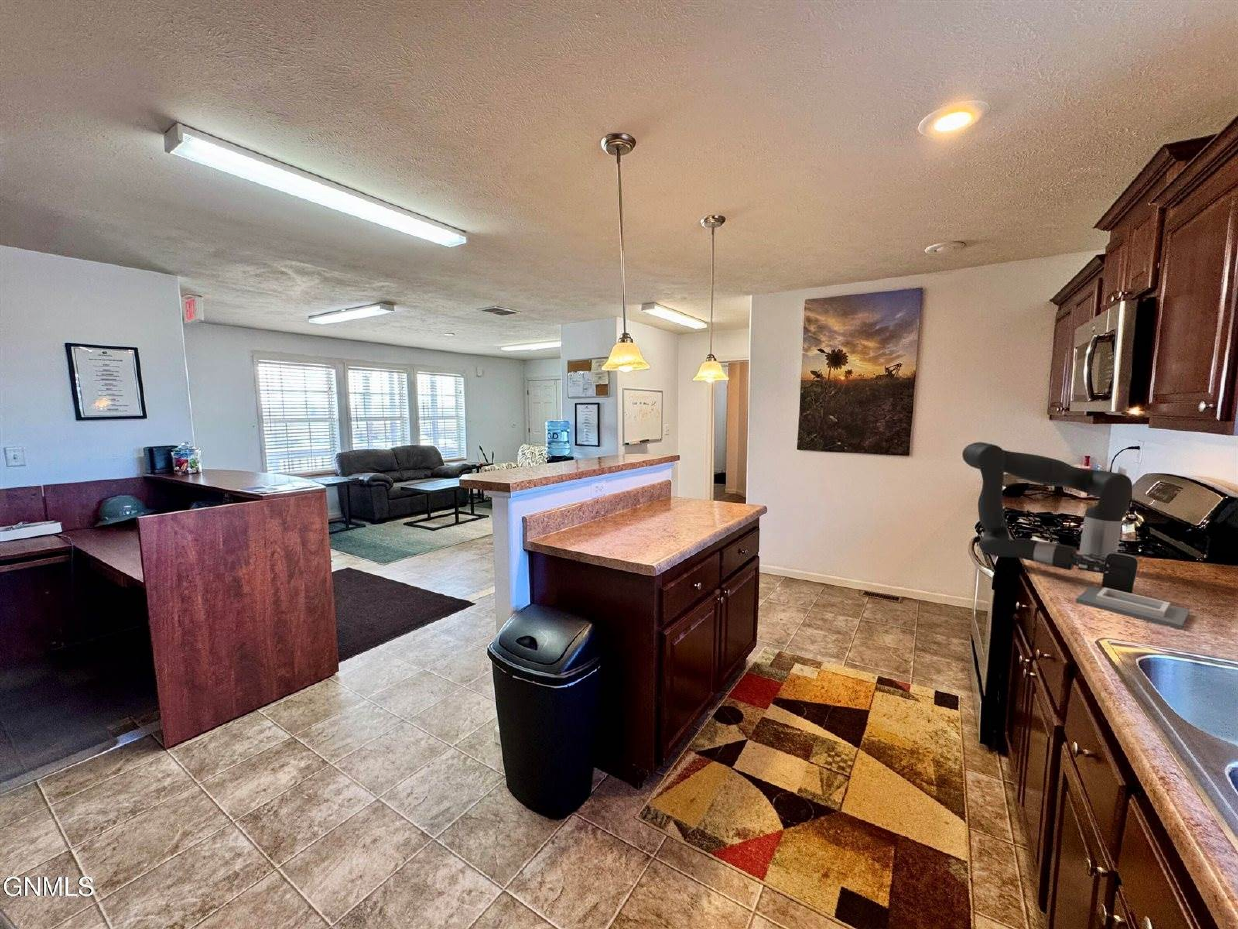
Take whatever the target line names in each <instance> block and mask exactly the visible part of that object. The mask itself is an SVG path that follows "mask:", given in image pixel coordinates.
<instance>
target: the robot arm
mask: <svg viewBox="0 0 1238 929" xmlns="http://www.w3.org/2000/svg"><path fill="white" fill-rule="evenodd" d="M962 459H963V461H964V462H965V463H966V465H967V466H968V465H969V467H971V468H974V469H977V470H979V471H980V474H981V478H982V486H981V487H982V488H981V491H980V494H979V497H978V499H977V500H978V502H977V510H978V511H977V512H978V519H979V523H980V525H981V526H982V527H984V529H985V534H984V535H983V536H982V537H981V538H980V539H979V541H978V546H979V548H980V550H981V551H982V552H984V553H985V554H988V555H990V556H992V557H993V556H994V557H1000V558H1001V557H1003V558H1018V559H1022V560H1027V561H1031V562H1035V563H1038V564H1041V565H1046V566H1049V567H1054V568H1059V569H1062V570H1068V571H1072V570H1073V569H1074V567H1077V569H1078V570H1080V571H1087V572H1092V573H1097V574H1098V573H1099V574H1103V573H1109V572H1110V573H1114V574H1119V575H1123V576H1126V575H1127V574H1128V569H1127V568H1123V567H1118V566H1113V565H1111V566H1110V565H1109V564H1105V563H1104V562H1105V557H1106V555H1107V554H1108V553H1110V552H1118V549H1119V544H1120V537H1121V530H1122V524H1123V519H1124V516H1125V514H1126V513H1127V511H1128V510H1129V505H1130V500H1131V497H1132V492H1133V482H1132V480H1131V478H1130V477H1129V476H1127V475H1126V474H1123V473H1119V472H1118V473H1117V472H1112V471H1106V470H1096V469H1088V468H1082V467H1081V468H1080V467H1075V466H1073V465H1071V464H1068V463H1067V462H1064V461H1062V460H1060V459H1056V458H1052V457H1047V456H1044V455H1043V456H1042V455H1038V454H1031V453H1026V452H1025V453H1024V452H1017V451H1011V450H1005V449H1003V448H1002V447H1001V446H999V445H996V444H992V443H988V442H981V441H979V442H978V441H977V442H973V443H970V444H968V445H966V446H965V448H964V449H963V450H962ZM1005 473H1006V474H1008V475H1012V476H1013V477H1017V478H1020V479H1023V480H1026V481H1029V482H1033V483H1037V484H1041V485H1044V486H1045V485H1046V486H1049V487H1050V486H1052V487H1061V488H1064V487H1065V488H1071V489H1073V490H1076V491H1079V492H1082V493H1084V494H1087V495H1090V496H1093V497H1096V498H1098V502H1097V505H1095V506H1090V507H1087V508H1086V509H1085V513H1084V518H1083V525H1082V526H1083V527H1082V532H1081V537H1080V538H1081V539H1080V545H1079V553H1078V550H1077V548H1076V547H1074V546H1070V545H1065V544H1061V543H1054V542H1050V541H1040V540H1035V539H1029V538H1025V537H1019V538H1016V539H1010V533H1009V529H1008V527H1007V524H1006V522H1005V512H1004V505H1003V504H1004V503H1003V489H1004V488H1003V487H1004V474H1005Z"/></svg>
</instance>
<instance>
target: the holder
mask: <svg viewBox="0 0 1238 929" xmlns="http://www.w3.org/2000/svg"><path fill="white" fill-rule="evenodd" d="M1076 602H1077V604H1080V603H1081V605H1085V606H1089V607H1092V606H1093V607H1092V608H1095V609H1100V610H1103V609H1104V611H1107V612H1112V613H1115V614H1118V613H1119V614H1120V615H1122V616H1127V617H1130V616H1131V617H1130V618H1135V619H1139V620H1142V619H1143V621H1145V620H1146V621H1145V622H1150V623H1153V624H1158V625H1161V626H1165V627H1168V626H1170V627H1169V628H1172V627H1173V629H1176V630H1183V627H1184V626H1185V624H1186V621H1187V619H1188V618H1189V615H1190V613H1191V609H1188V608H1184V607H1179V606H1175V605H1171V602H1169V601H1164V600H1160V599H1156V598H1152V597H1148V596H1143V595H1138V594H1135V593H1126V592H1122V591H1118V590H1114V589H1109V588H1105V587H1102V588H1099V587H1095V586H1091V585H1090V586H1088V587H1087V588H1086V589H1085V590H1084V591H1083V592H1081V593H1080V595H1078V596H1077V597H1076V598H1075V603H1076Z"/></svg>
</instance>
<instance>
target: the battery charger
mask: <svg viewBox="0 0 1238 929" xmlns="http://www.w3.org/2000/svg"><path fill="white" fill-rule="evenodd" d="M1104 563H1105V564H1109V565H1110V566H1111V565H1113V566H1118V567H1123V568H1127V569H1128V574H1127V575H1126V576H1123V575H1119V574H1114V573H1110V572H1109V573H1102V579H1101V588H1104V587H1105V588H1109V589H1114V590H1118V591H1122V592H1126V593H1131V594H1134V592H1133V591H1134V586H1135V581H1136V578H1137V573H1138V568H1139V558H1138V557H1137V556H1135V555H1132V554H1128V553H1125V552H1118V551H1117V552H1110V553H1108V554H1107V555H1106V557H1105V562H1104Z"/></svg>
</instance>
